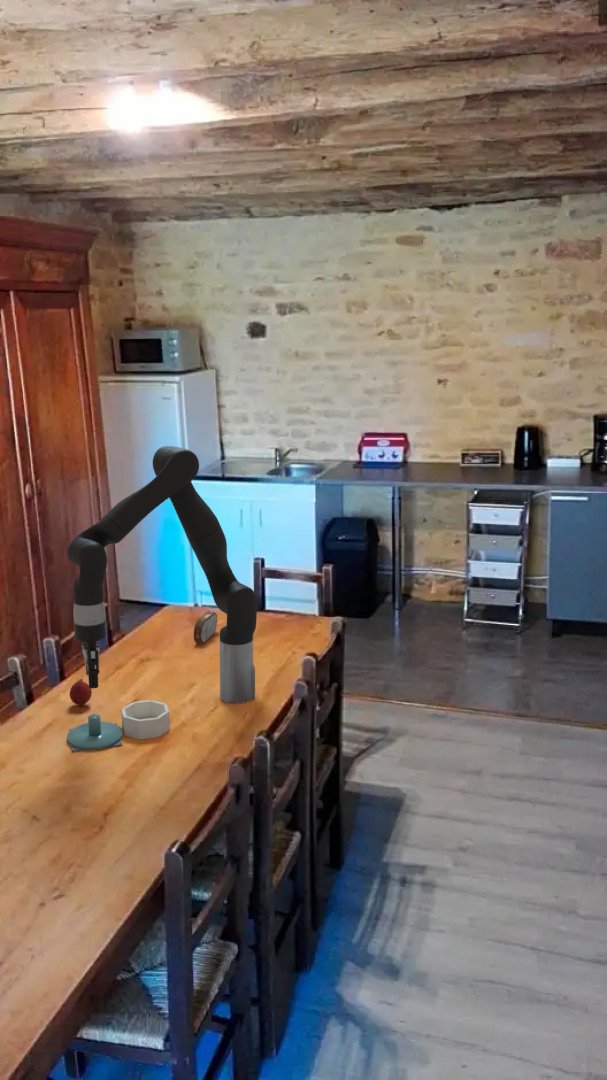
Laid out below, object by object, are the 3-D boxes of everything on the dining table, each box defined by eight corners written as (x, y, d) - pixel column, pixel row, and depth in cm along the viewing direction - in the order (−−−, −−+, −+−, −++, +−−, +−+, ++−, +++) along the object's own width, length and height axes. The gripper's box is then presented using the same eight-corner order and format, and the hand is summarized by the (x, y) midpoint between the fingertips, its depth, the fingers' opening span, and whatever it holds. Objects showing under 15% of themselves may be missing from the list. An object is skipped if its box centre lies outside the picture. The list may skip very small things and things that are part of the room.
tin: (210, 630, 299) (209, 607, 297) (218, 631, 298) (218, 608, 296) (192, 646, 285) (192, 621, 283) (201, 647, 284) (201, 622, 282)
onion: (86, 711, 238) (85, 684, 236) (66, 709, 239) (65, 682, 237) (95, 702, 243) (94, 675, 241) (76, 700, 244) (74, 673, 242)
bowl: (164, 715, 236) (164, 698, 235) (171, 735, 225) (171, 717, 224) (120, 721, 233) (119, 703, 231) (125, 741, 222) (125, 722, 221)
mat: (116, 724, 231) (116, 723, 230) (122, 745, 220) (122, 744, 219) (69, 730, 227) (69, 729, 227) (72, 752, 216) (72, 750, 216)
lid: (119, 721, 231) (118, 702, 230) (125, 745, 219) (124, 725, 218) (65, 728, 227) (64, 708, 226) (68, 752, 215) (67, 732, 214)
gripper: (108, 627, 210) (110, 690, 214) (102, 608, 223) (104, 668, 227) (75, 630, 208) (78, 694, 212) (71, 611, 221) (74, 671, 225)
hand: (92, 680), depth 219 cm, fingers open, 8 cm apart
